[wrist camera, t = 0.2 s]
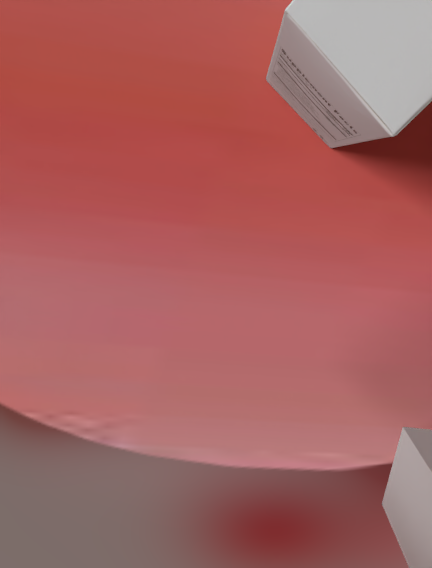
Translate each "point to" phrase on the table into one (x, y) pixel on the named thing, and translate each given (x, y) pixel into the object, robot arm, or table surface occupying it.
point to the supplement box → (354, 66)
